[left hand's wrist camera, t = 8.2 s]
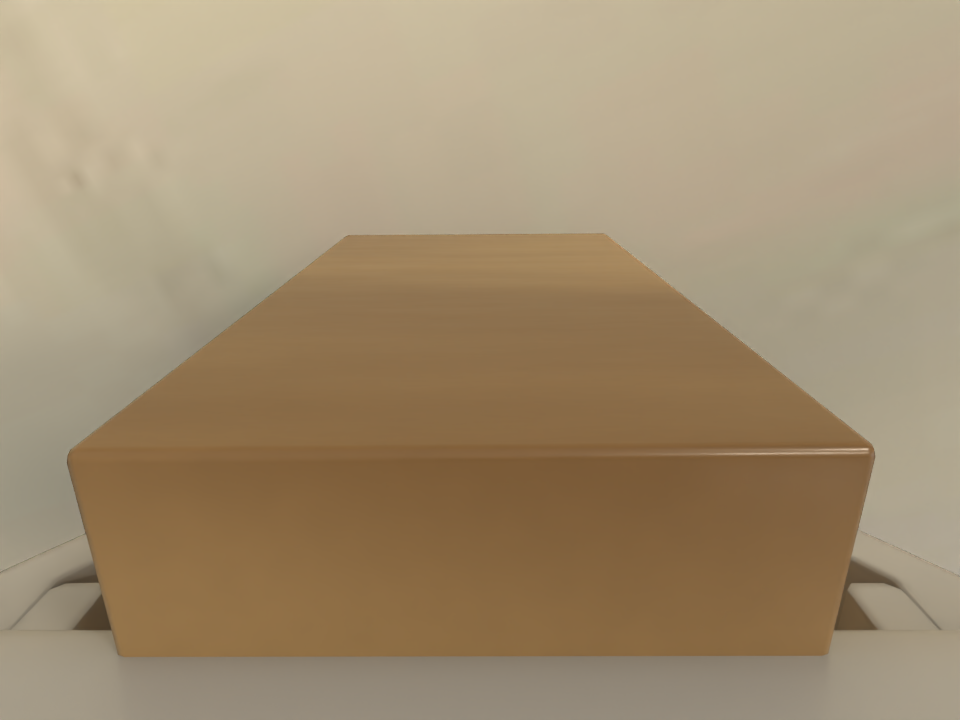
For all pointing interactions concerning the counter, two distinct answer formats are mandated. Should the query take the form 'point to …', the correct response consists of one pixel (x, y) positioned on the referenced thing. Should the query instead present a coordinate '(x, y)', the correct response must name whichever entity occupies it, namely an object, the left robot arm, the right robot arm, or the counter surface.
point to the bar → (473, 470)
